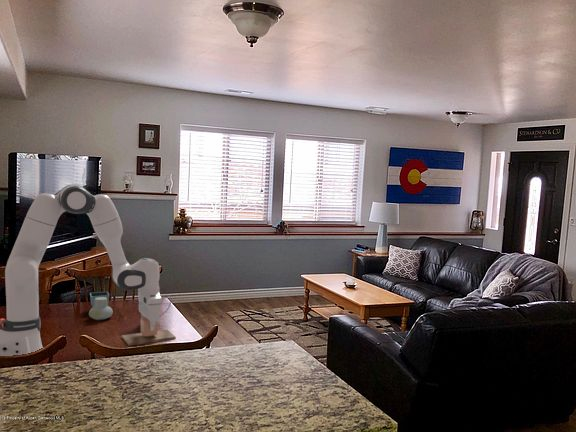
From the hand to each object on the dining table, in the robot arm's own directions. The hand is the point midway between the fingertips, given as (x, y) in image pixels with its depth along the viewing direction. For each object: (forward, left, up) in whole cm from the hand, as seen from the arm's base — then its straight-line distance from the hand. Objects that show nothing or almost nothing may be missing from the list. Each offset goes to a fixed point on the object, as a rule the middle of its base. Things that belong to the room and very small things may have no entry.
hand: (148, 327), depth 219 cm
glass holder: (+9, +20, -5) cm, 23 cm away
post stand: (0, 0, -5) cm, 5 cm away
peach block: (0, 0, -3) cm, 3 cm away
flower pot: (-10, +54, -5) cm, 55 cm away
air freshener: (-12, +40, -5) cm, 42 cm away
